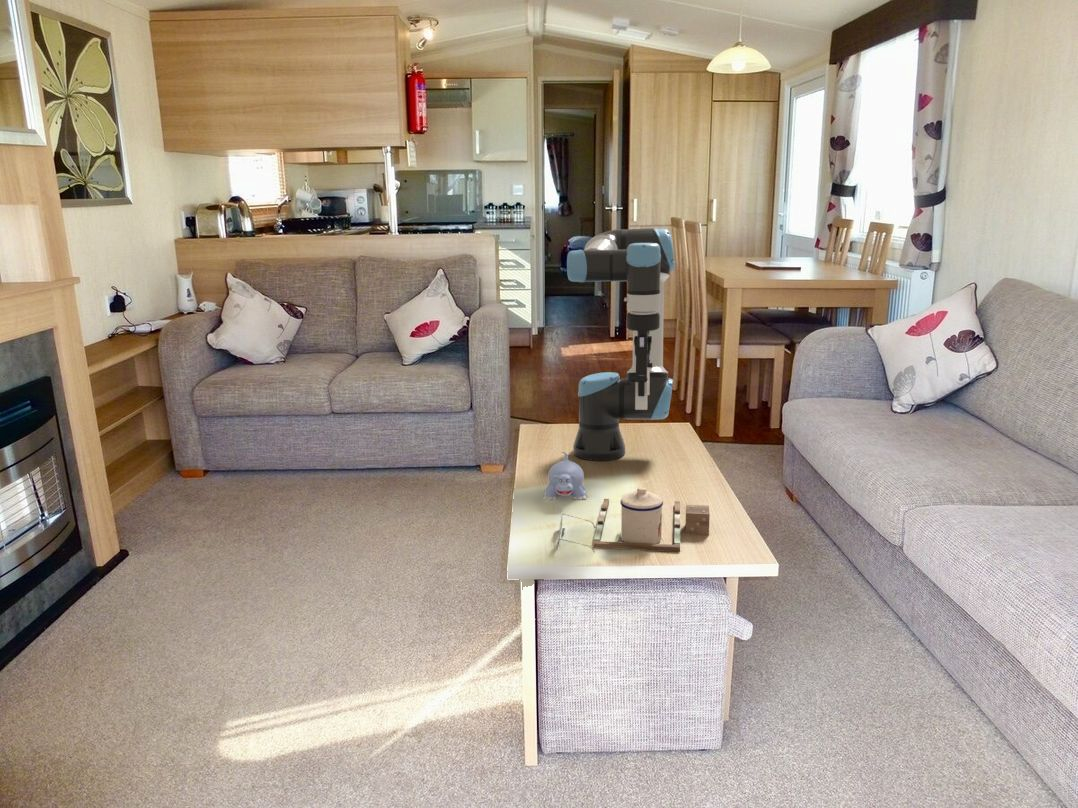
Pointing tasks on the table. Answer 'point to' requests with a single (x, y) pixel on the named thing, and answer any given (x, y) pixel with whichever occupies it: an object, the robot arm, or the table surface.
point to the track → (636, 546)
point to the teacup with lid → (641, 517)
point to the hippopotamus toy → (565, 480)
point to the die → (697, 519)
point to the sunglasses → (564, 529)
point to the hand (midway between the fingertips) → (642, 401)
